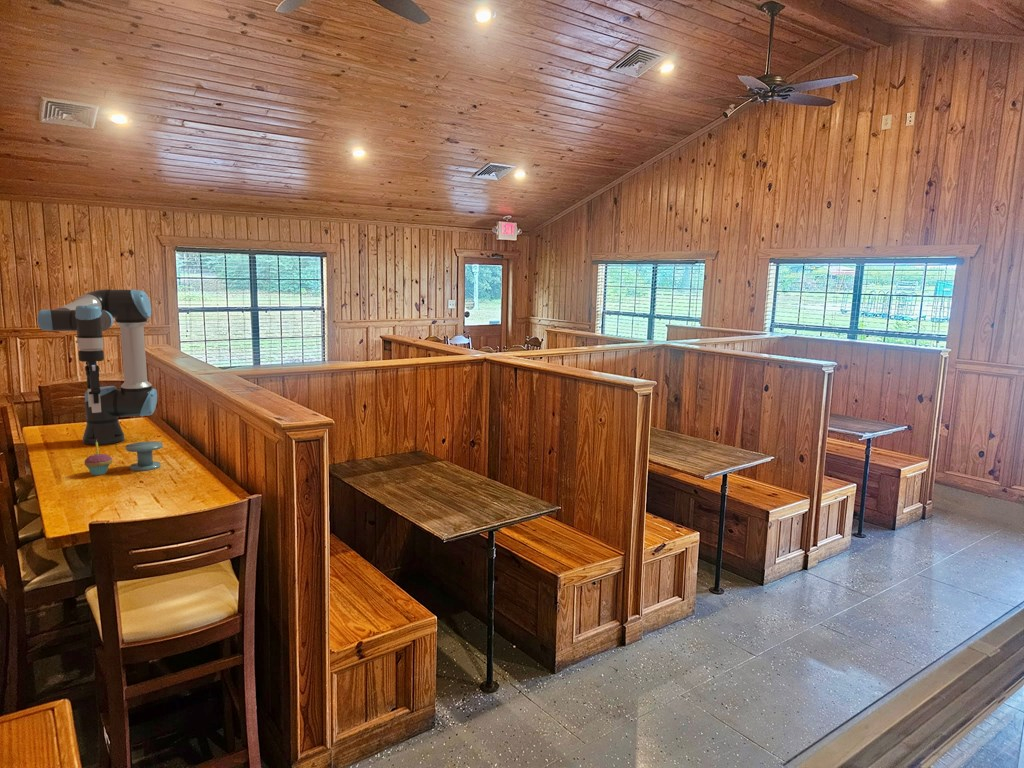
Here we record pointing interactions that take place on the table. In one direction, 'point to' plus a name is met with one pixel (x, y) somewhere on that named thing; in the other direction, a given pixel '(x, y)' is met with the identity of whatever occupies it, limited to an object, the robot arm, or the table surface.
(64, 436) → the table surface
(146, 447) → the cake stand
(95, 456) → the cupcake
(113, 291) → the robot arm
